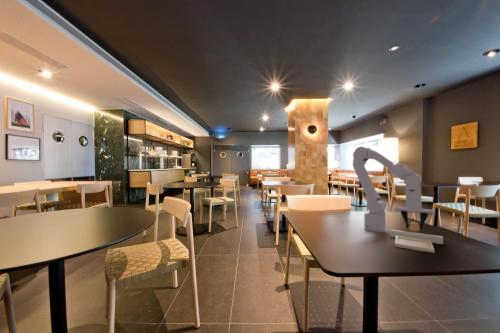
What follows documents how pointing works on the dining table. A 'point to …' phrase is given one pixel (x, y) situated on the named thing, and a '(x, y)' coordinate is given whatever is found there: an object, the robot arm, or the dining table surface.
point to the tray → (414, 244)
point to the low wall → (418, 236)
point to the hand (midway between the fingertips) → (414, 228)
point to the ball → (414, 226)
